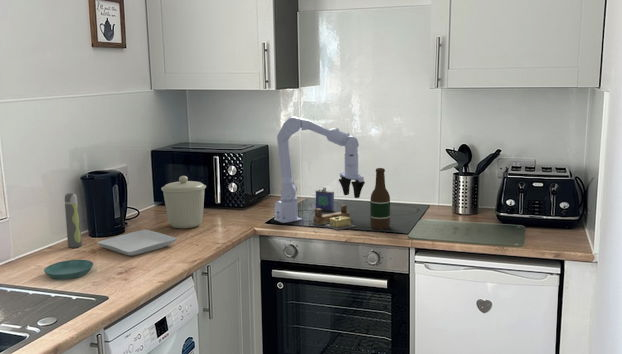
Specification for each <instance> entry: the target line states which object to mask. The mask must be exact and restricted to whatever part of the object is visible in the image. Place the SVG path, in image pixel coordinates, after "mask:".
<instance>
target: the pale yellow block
mask: <svg viewBox="0 0 622 354" xmlns="http://www.w3.org/2000/svg"><path fill="white" fill-rule="evenodd" d="M329 224H330V226H333V227H336V228H339V227H344V226H350V225H352V218H351V217H350V218H349V217H346V216H340V217H334V218H330V223H329Z"/></svg>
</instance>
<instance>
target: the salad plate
mask: <svg viewBox="0 0 622 354" xmlns="http://www.w3.org/2000/svg"><path fill="white" fill-rule="evenodd" d="M177 240H178V238H177V237H174V236H173V235H168V234H164V233H160V232H157V231H154V230H150V229H149V230H148V229H146V228H145V229H144V228H143V229H141V230H136V231H133V232H129V233H126V234H125V233H124V234H122V235H118V236H117V235H116V236H113V237H110V238H107V239H106V238H105V239H103V240H99V241H97V242H96V243H97V245H99V246H100V247H102V248H104V249H108V250H110V251H113V252H117V253H120V254H123V255H126V256H129V257H130V256H131V257H132V256H133V257H134V256H137V255H141V254H145V253H149V252H153V251H156V250H159V249H162V248H165V247H168V246H171V245H172V244H174V243H176V242H177Z"/></svg>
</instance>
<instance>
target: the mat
mask: <svg viewBox="0 0 622 354" xmlns="http://www.w3.org/2000/svg"><path fill="white" fill-rule="evenodd" d="M324 227H326V228H330V229H332V230H335V231H340V230H347V229H351V228H356V225H354V224H351V225H350V226H344V227H339V228H336V227H333V226H330V223H327V224H324Z"/></svg>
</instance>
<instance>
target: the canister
mask: <svg viewBox="0 0 622 354" xmlns="http://www.w3.org/2000/svg"><path fill="white" fill-rule="evenodd" d="M188 179H189V178H188V176H186V175H181V176H179V178H178V181H174V182H169V183H167V184H165V185H164V186H162V187H161V191H162V192H163V198H164V199H163V200H164V205H165V210H166V214H167V215H166V216H167V219H168V223H169V225H170V226H171V227H172V228H175V229H182V230H183V229H192V228H196V227H198V226H200V225H201V224H202V223H203V222H202V221H203V217H204V205H205V204H204V202H205V189H206V188H207V185H206V184H204V183H202V182H201V181H193V180H188Z"/></svg>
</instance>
